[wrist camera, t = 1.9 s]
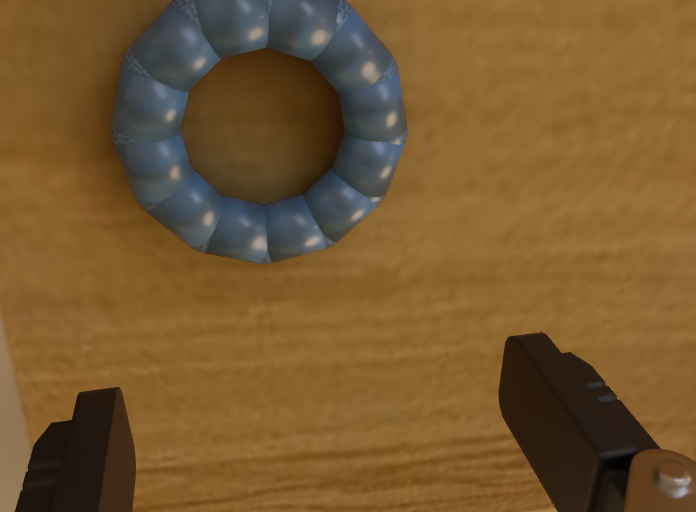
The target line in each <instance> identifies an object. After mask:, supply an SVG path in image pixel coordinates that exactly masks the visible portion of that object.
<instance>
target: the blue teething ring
mask: <svg viewBox="0 0 696 512" xmlns="http://www.w3.org/2000/svg"><path fill="white" fill-rule="evenodd" d="M264 48H268V49H271V50H274V51H278V52H281V53H284V54H288V55H291V56H294V57H298V58H301V59H304V60H308V61H309V62H310V63H311V64H312V65H313V66H314V67H315V68H316V69H317V70H318V71H319V72H320V74H321V75H322V76H323V77H324V78H325V79H326V80H327V81H328V82H329V83H330V84H331V86H332V87H333V88H334V89H335V90H336V91H337V94H338V99H339V104H340V109H341V113H342V118H343V123H344V128H345V131H344V134H343V137H342V140H341V143H340V146H339V149H338V152H337V155H336V158H335V161H334V164H333V167H332V168H331V169H330V170H329V171H328V172H327V173H325V174H324V175H323V176H322V177H321V178H320V179H319V180H318V181H317V182H316V183H315V184H314V185H312V186H311V187H310V188H309V189H308V190H307V191H306V192H305V193H304V194H301V195H298V196H294V197H290V198H286V199H283V200H279V201H275V202H271V203H268V204H259V203H255V202H250V201H246V200H241V199H237V198H232V197H228V196H224V195H223V194H221V193H220V192H219V191H218V190H217V189H216V188H214V187H213V186H212V185H211V184H210V183H209V182H207V181H206V180H205V179H204V178H203V177H202V176H201V175H199V174H198V173H197V172H196V171H195V170H194V169H193V167H192V164H191V161H190V158H189V155H188V152H187V149H186V146H185V143H184V140H183V137H182V135H181V132H180V131H181V127H182V122H183V118H184V114H185V109H186V105H187V100H188V96H189V91H190V90H191V89H192V88H193V87H194V86H195V85H196V84H197V83H198V82H199V81H200V80H201V79H202V78H203V77H204V76H205V75H206V74H207V73H208V72H209V71H210V70H211V69H212V68H213V67H214V66H215V65H216V64H217V63H218V62H219V61H220V60H221V59H224V58H228V57H232V56H236V55H240V54H244V53H248V52H252V51H256V50H260V49H264ZM110 133H111V139H112V142H113V144H114V147H115V149H116V152H117V154H118V157H119V159H120V162H121V164H122V167H123V169H124V172H125V174H126V177H127V179H128V181H129V184H130V186H131V189H132V191H133V194H134V196H135V199H136V201H137V202H138V204H139V205H140V207H141V208H142V209H143V210H144V211H146V212H147V213H148V214H149V215H151V216H152V217H153V218H154V219H156V220H157V221H158V222H160V223H161V224H162V225H163V226H165V227H166V228H167V229H168V230H170V231H171V232H172V233H173V234H175V235H176V236H177V237H179V238H180V239H181V240H182V241H184V242H185V243H186V244H187V245H189V246H190V247H191V248H193V249H195V250H197V251H199V252H202V253H207V254H212V255H217V256H222V257H227V258H232V259H238V260H243V261H248V262H253V263H258V264H271V263H275V262H278V261H282V260H286V259H289V258H293V257H297V256H300V255H304V254H308V253H311V252H315V251H319V250H322V249H326V248H328V247H331V246H333V245H334V244H336V243H337V242H338V241H339V240H340V239H341V238H343V237H344V236H345V235H346V234H347V233H348V232H349V231H350V230H352V229H353V228H354V227H355V226H356V225H357V224H358V223H359V222H361V221H362V220H363V219H364V218H365V217H366V216H367V215H368V214H370V213H371V212H372V211H373V210H374V209H375V208H376V207H377V206H378V205H379V204H380V203H381V202H382V201H383V199H384V197H385V195H386V193H387V190H388V188H389V185H390V182H391V180H392V177H393V174H394V172H395V169H396V166H397V164H398V161H399V158H400V156H401V153H402V151H403V148H404V145H405V143H406V139H407V122H406V116H405V110H404V103H403V97H402V90H401V84H400V78H399V71H398V66H397V63H396V61H395V59H394V57H393V56H392V54H391V53H390V52H389V50H388V49H387V48H386V47H385V46H384V44H383V43H382V42H381V41H380V40H379V38H378V37H377V36H376V35H375V34H374V32H373V31H372V30H371V29H370V28H369V26H368V25H367V24H366V23H365V22H364V20H363V19H362V18H361V17H360V16H359V14H358V13H357V12H356V11H355V10H354V8H353V7H352V6H351V5H350V4H349V3H348V2H347V1H346V0H173V1H172V2H171V4H170V5H169V6H168V7H167V8H166V9H165V10H164V11H163V12H162V13H161V14H160V15H159V16H158V17H157V18H156V19H155V20H154V21H153V22H152V24H151V25H150V26H149V27H148V28H147V29H146V30H145V31H144V32H143V33H142V34H141V35H140V36H139V37H138V38H137V39H136V40H135V41H134V42H133V44H132V45H131V46H130V47H129V48H128V49H127V51H126V52H125V54H124V57H123V60H122V64H121V70H120V76H119V81H118V87H117V92H116V98H115V103H114V109H113V114H112V120H111V127H110Z"/></svg>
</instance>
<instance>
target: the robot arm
mask: <svg viewBox="0 0 696 512" xmlns="http://www.w3.org/2000/svg"><path fill="white" fill-rule="evenodd" d="M499 405H500V409H501V413H502V416H503V418H504V420H505V422H506V424H507V426H508V427H509V429H510V431H511V432H512V434H513V436H514V438H515V439H516V441H517V443H518V444H519V446H520V448H521V450H522V451H523V453H524V455H525V456H526V458H527V460H528V462H529V463H530V465H531V467H532V468H533V470H534V472H535V473H536V475H537V477H538V479H539V480H540V482H541V484H542V485H543V487H544V489H545V491H546V492H547V494H548V496H549V497H550V499H551V501H552V503H553V504H554V506H555V508H556V509H557V511H558V512H696V462H695V461H693V460H692V459H690V458H688V457H686V456H684V455H682V454H679V453H677V452H674V451H669V450H664V449H660V447H659V446H658V445H657V444H656V443H655V441H654V440H653V439H652V438H651V437H650V435H649V434H648V433H647V432H646V431H645V429H644V428H643V427H642V426H641V425H640V423H639V422H638V421H637V420H636V419H635V417H634V416H633V415H632V414H631V413H630V411H629V410H628V409H627V408H626V407H625V405H624V404H623V403H622V402H621V401H620V400H617V396H616V395H615V393H614V392H613V391H612V390H611V389H610V387H609V386H606V384H605V381H604V380H603V379H602V378H601V377H600V375H599V374H598V373H597V372H596V371H595V369H594V368H593V367H592V366H591V365H589V364H588V363H586V362H585V361H583V360H582V359H580V358H578V357H577V356H575V355H574V354H572V353H571V352H568V353H561V352H560V351H559V349H558V348H557V347H556V346H555V344H554V343H553V342H552V341H551V339H550V338H549V337H548V336H547V335H546V334H545V333H543V332H540V333H532V334H525V335H517V336H510V337H508V338H507V340H506V343H505V348H504V355H503V363H502V370H501V378H500V385H499ZM135 478H136V459H135V449H134V443H133V439H132V434H131V430H130V425H129V421H128V416H127V412H126V407H125V403H124V398H123V394H122V391H121V389H120V387H115V388H107V389H99V390H92V391H84V392H80V393H79V394H78V396H77V400H76V404H75V409H74V413H73V417H72V420H69V421H62V422H55V423H51V424H50V426H49V427H48V428H47V429H46V431H45V432H44V433H43V434H42V435H41V437H40V438H39V439H38V440H37V442H36V443H35V444H34V447H33V451H32V454H31V457H30V461H29V464H28V472H26V475H25V478H24V482H23V486H22V487H23V490H22V491H21V492H20V496H19V499H18V503H17V506H16V510H15V512H132V508H133V498H134V488H135Z"/></svg>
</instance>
